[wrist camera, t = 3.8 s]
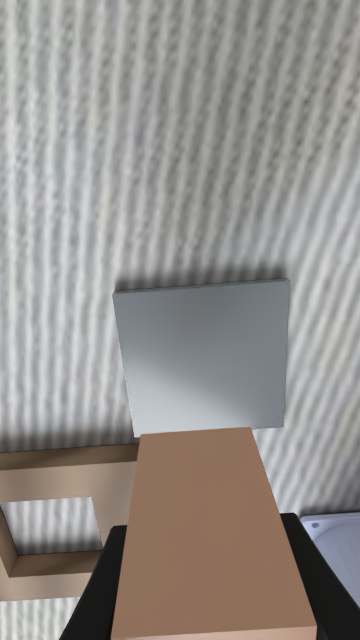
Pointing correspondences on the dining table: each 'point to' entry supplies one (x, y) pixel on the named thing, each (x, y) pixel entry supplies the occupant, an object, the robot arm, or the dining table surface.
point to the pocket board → (54, 483)
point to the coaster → (204, 355)
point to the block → (207, 546)
